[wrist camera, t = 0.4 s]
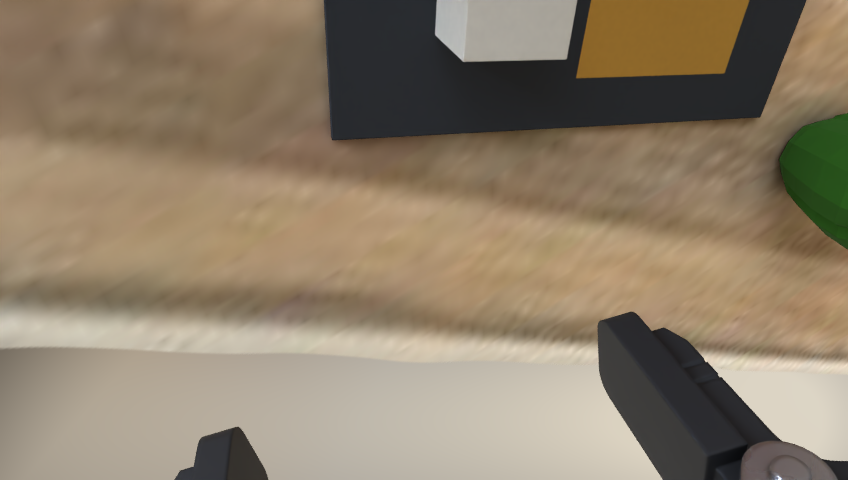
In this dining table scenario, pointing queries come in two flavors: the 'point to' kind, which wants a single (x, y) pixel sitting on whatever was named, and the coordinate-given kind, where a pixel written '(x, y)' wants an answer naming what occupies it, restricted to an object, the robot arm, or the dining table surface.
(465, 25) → the matte off-white cube
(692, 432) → the robot arm
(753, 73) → the mat
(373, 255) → the dining table surface
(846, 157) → the bell pepper
